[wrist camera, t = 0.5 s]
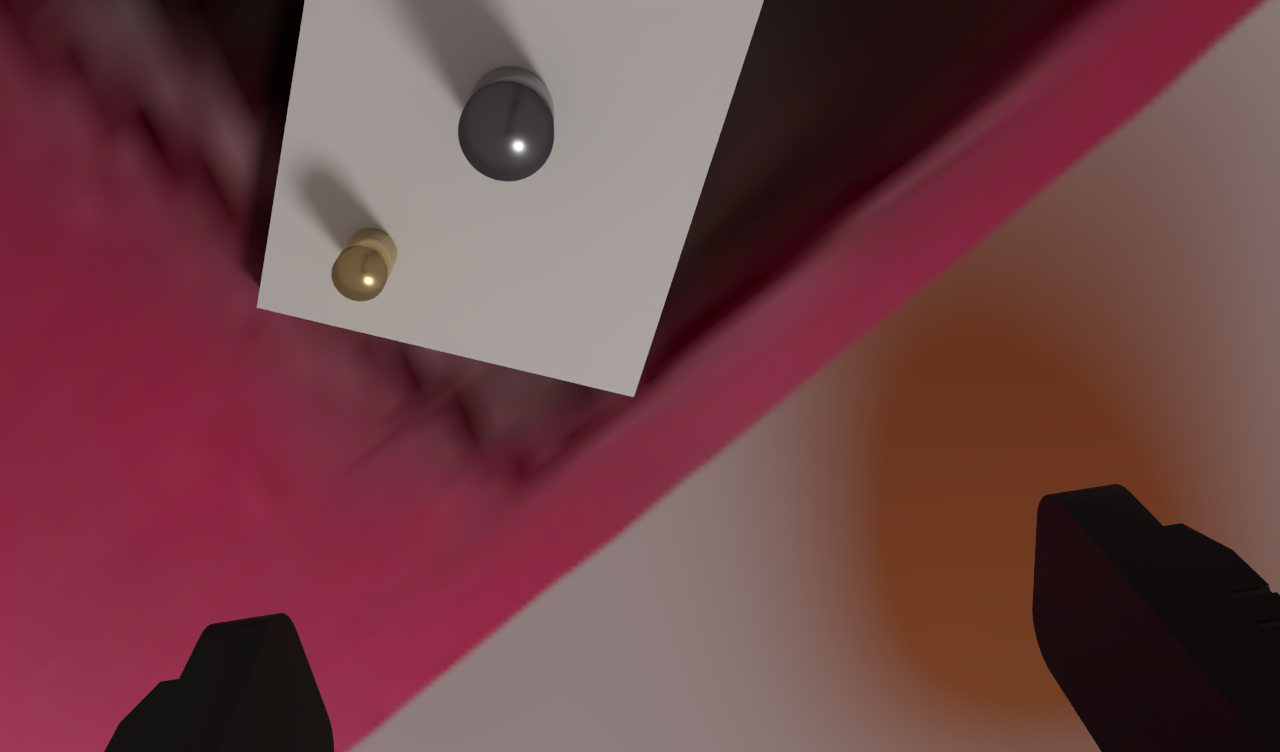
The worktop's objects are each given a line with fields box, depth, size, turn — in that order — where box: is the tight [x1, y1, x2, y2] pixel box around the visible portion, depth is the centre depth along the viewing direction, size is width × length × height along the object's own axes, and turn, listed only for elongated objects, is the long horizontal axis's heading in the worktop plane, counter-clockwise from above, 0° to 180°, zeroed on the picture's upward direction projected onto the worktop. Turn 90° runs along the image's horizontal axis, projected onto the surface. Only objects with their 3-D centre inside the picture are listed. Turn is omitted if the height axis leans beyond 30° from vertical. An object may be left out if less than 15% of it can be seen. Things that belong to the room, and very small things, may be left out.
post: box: [458, 66, 554, 182], centre depth 29 cm, size 3×3×4 cm
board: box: [257, 0, 764, 397], centre depth 31 cm, size 17×13×1 cm
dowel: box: [331, 228, 397, 301], centre depth 31 cm, size 2×2×2 cm
